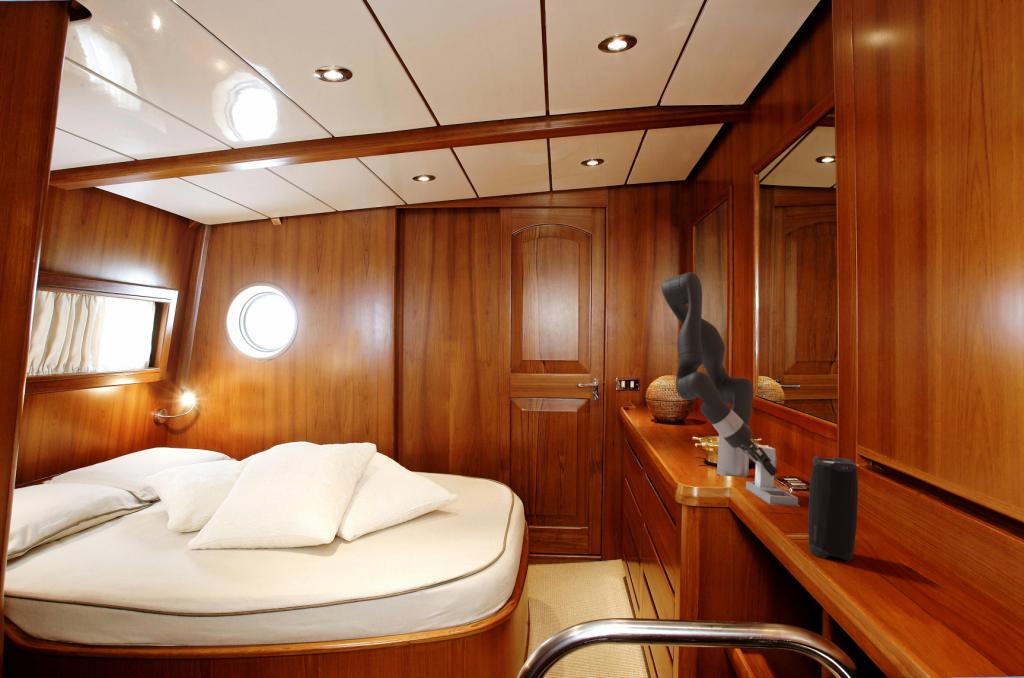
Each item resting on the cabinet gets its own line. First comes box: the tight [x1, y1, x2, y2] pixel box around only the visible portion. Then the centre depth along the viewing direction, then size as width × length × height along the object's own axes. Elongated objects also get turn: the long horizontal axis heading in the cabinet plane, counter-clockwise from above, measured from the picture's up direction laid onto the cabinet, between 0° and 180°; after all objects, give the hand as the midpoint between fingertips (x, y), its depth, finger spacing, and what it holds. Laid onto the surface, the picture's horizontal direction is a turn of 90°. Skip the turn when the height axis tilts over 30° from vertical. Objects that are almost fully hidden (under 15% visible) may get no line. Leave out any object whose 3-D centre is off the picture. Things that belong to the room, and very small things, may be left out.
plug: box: [754, 445, 777, 488], centre depth 160 cm, size 4×4×13 cm
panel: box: [744, 481, 800, 507], centre depth 155 cm, size 8×18×3 cm, turn 178°
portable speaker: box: [807, 455, 859, 562], centre depth 112 cm, size 9×9×20 cm
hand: (771, 471), depth 160 cm, fingers closed on plug, 3 cm apart
